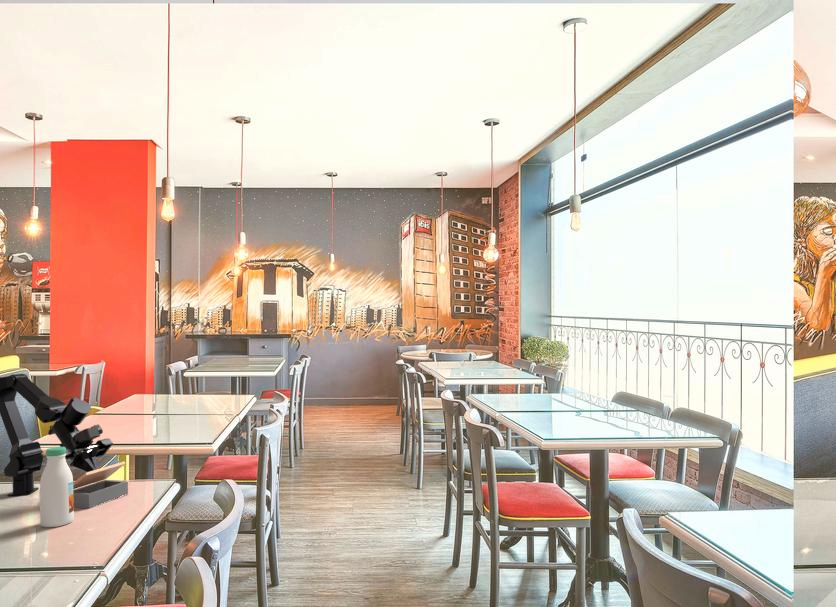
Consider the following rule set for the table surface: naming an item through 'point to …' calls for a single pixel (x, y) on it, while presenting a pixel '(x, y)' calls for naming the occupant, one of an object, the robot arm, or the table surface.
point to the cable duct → (99, 493)
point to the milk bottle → (56, 490)
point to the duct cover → (96, 475)
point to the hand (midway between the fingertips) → (96, 474)
